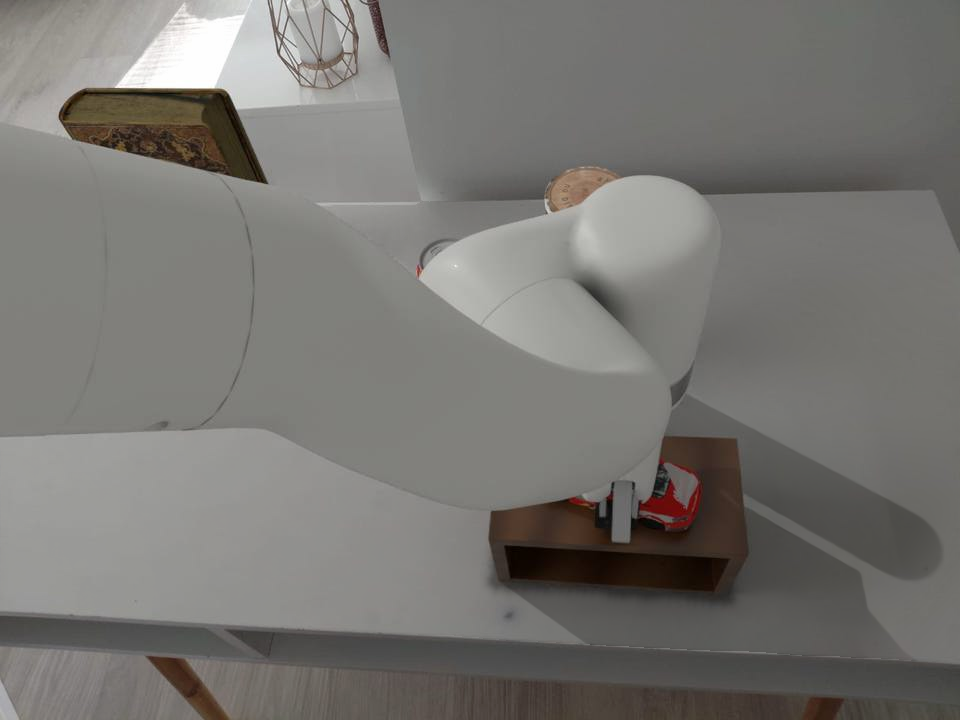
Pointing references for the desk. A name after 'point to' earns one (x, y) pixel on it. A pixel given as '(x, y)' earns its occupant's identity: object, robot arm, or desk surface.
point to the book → (165, 127)
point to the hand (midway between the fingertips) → (615, 484)
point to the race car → (666, 499)
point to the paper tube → (575, 187)
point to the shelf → (634, 535)
